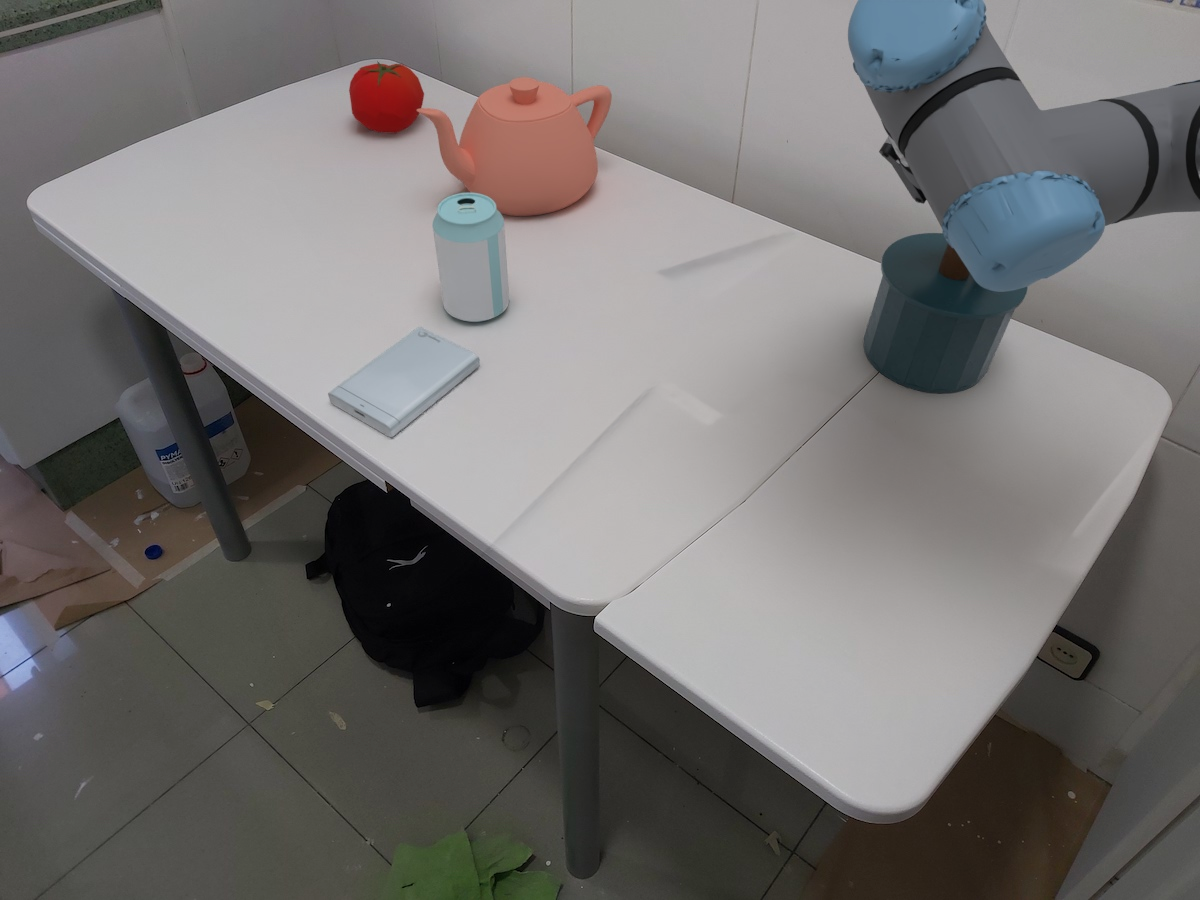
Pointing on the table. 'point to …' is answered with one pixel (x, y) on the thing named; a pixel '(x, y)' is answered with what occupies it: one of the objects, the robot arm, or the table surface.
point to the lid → (942, 280)
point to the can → (471, 257)
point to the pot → (929, 344)
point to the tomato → (385, 97)
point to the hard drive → (404, 381)
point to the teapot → (525, 145)
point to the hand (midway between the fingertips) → (980, 237)
